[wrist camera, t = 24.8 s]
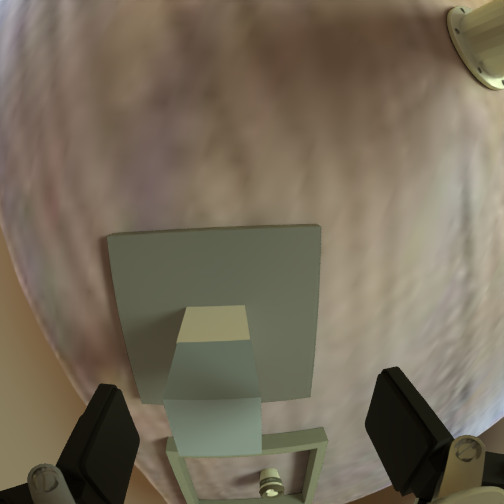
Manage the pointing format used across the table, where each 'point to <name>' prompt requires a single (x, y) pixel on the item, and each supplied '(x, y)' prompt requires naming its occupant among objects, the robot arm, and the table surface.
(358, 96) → the table surface
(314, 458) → the cup coaster rim
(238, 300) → the baseplate
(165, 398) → the slate block
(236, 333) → the cream block
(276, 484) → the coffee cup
